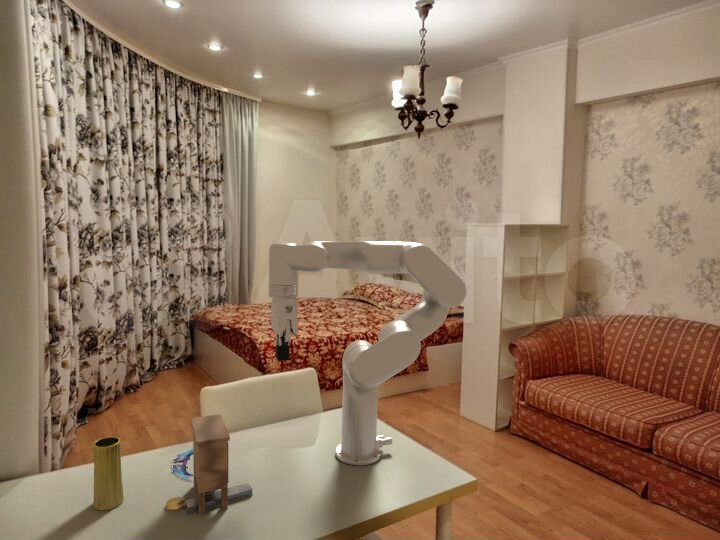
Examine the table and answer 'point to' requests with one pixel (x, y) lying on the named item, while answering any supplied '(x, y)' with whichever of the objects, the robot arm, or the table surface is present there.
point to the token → (175, 504)
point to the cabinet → (210, 458)
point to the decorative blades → (182, 466)
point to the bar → (219, 498)
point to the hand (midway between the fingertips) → (282, 359)
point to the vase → (107, 474)
